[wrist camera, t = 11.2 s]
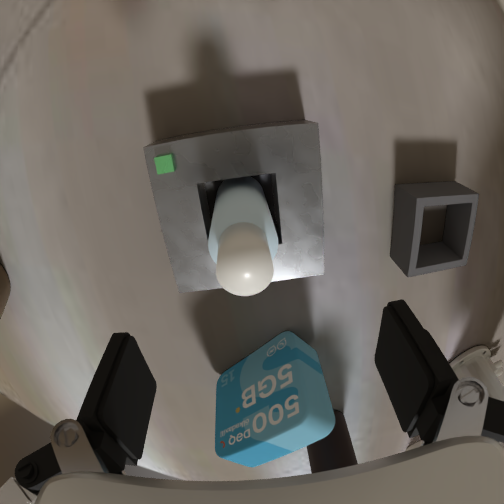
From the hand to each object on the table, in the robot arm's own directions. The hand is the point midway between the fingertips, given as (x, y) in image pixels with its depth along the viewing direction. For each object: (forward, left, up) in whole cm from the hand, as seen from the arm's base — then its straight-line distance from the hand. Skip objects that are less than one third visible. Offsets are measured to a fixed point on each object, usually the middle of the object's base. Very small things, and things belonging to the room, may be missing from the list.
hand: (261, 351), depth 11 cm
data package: (0, +20, -17) cm, 26 cm away
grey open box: (-18, +4, -17) cm, 25 cm away
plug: (0, 0, -17) cm, 17 cm away
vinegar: (-8, +37, -17) cm, 41 cm away
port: (0, 0, -17) cm, 17 cm away
